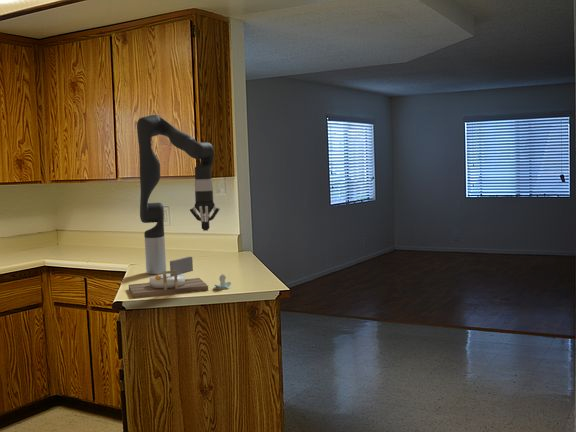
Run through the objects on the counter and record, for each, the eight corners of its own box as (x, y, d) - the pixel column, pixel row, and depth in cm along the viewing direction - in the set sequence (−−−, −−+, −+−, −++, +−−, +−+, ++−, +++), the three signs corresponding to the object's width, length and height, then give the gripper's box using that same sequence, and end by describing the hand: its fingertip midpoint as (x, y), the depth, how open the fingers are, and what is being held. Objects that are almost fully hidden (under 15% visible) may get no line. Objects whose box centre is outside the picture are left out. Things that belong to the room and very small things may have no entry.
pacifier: (210, 289, 270) (218, 291, 265) (209, 274, 270) (217, 275, 265) (224, 286, 275) (233, 288, 270) (223, 272, 274) (232, 273, 270)
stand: (128, 289, 274) (127, 267, 273) (199, 282, 284) (198, 261, 283) (133, 298, 257) (131, 275, 256) (208, 290, 267) (207, 268, 266)
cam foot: (178, 276, 287) (177, 255, 286) (204, 278, 280) (203, 257, 279) (142, 286, 268) (141, 264, 267) (169, 289, 261) (168, 266, 260)
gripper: (186, 190, 274) (188, 231, 276) (217, 189, 273) (219, 231, 274) (190, 189, 282) (192, 229, 283) (221, 188, 280) (222, 229, 282)
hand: (205, 230), depth 279 cm, fingers closed
